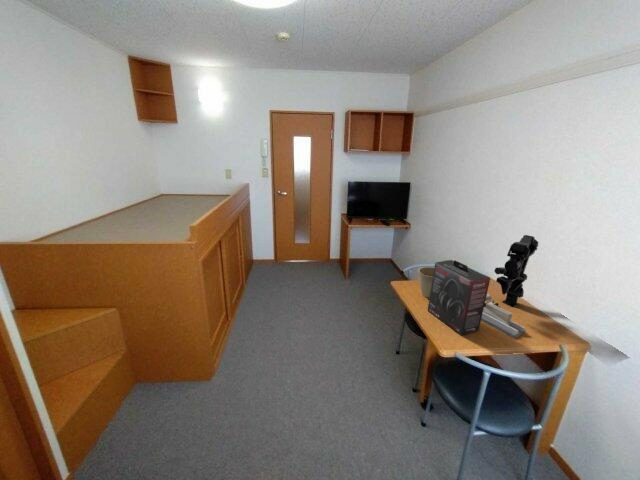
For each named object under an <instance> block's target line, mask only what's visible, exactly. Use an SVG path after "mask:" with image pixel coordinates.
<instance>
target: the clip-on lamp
mask: <svg viewBox="0 0 640 480" xmlns="http://www.w3.org/2000/svg"><path fill="white" fill-rule="evenodd" d="M491 299H492V295H491V294H489V293H487V295H486V300H485V304H484V307H485V306H486V304H487V303H489V302H490V303H492V304H494V305H496V306H498V307H499V303H498V302H497V303H495V300H491Z"/></svg>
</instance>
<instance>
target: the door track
mask: <svg viewBox="0 0 640 480" xmlns="http://www.w3.org/2000/svg"><path fill="white" fill-rule="evenodd" d="M484 311H485V307H484V309H483V313H482V318H481V322H483V323H485V324H486V325H488V326H490V327H492V328H494V329H495V330H498V331H499V332H501V333H502V334H505V335H506V336H508V337H509V338H512V339H515V338H517V337H519V336H521V335H523V334H525V333H526V329H525V326H523V325H520V324H518V323H517V322H515V321H512V320H511V322H510V325H509V326H508V325H507V324H505V323H503V322H501V321H499V320H497V319H495V318H493V317H491V316H489V315H487V314H485V313H484Z"/></svg>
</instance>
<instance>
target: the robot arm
mask: <svg viewBox="0 0 640 480" xmlns="http://www.w3.org/2000/svg"><path fill="white" fill-rule="evenodd" d="M535 237H536V236H532V235H528V234H525V235H524V234H523V237H522V238H521V239H520V240H519V241H515V242H513V243H512V244H510V247H509V250H508V252H507V255H506V256H507V257H509V259H508V260H507V261H505V263H504V267H500V266H499V267H498V266H497V267H495V268H494V270H493V272H494V273H495V274H496V275H503V276H499V277H497V278H496V279H495V281H496V283H498V284H499V285H500V287H501V294H502V295H505V296H506V297H505V299H504V300H502V301H501V302H502V303H504V304H506V305H508V306H510V307H513V308H514V307H516V306H518V305H519V306H520V303H518V301H519V298H523V297H524V294H525V293H524V292H525V291H524V287H523V286H524V285H523V283H524V282H525V281H526V280H528V275H527V273H525V272H526V268H527V266H528V263H529V259H530V257H531V256H532V255H534V254H535V252H536V251H537V250H538V248H537V247H539V241H538V240H537V239H535Z"/></svg>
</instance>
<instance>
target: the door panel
mask: <svg viewBox="0 0 640 480" xmlns="http://www.w3.org/2000/svg"><path fill="white" fill-rule="evenodd" d="M488 302H489V301H488ZM486 303H487V302H486ZM484 313H485V314H487V315H489V316H491V317H493V318H495V319H497V320H499V321H501V322H503V323H505V324H507V325H508V326H509V325H510V322H511V321H512V317H513V312H510V311H508V310H507V309H504V308H501V307H499V305H498V306H496V305H494V304H492V303H490V302H489V303H487V304H486V306H485V311H484Z"/></svg>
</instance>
